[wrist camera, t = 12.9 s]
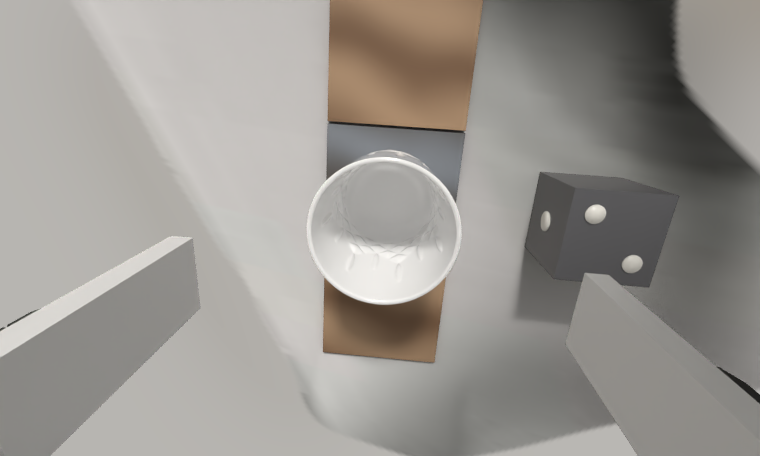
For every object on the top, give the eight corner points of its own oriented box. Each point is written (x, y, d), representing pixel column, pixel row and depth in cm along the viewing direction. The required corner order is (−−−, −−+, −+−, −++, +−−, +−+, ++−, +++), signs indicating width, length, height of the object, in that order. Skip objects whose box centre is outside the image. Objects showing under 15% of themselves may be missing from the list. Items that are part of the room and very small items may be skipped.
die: (538, 171, 27) (574, 188, 22) (621, 177, 27) (680, 196, 21) (523, 246, 29) (552, 279, 23) (600, 252, 29) (650, 288, 23)
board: (332, -35, 24) (330, -37, 23) (485, -26, 24) (487, -29, 23) (324, 348, 33) (323, 351, 33) (433, 358, 33) (434, 362, 32)
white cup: (318, 201, 28) (276, 246, 19) (380, 118, 26) (368, 122, 17) (397, 260, 30) (395, 331, 20) (463, 185, 27) (495, 225, 18)
